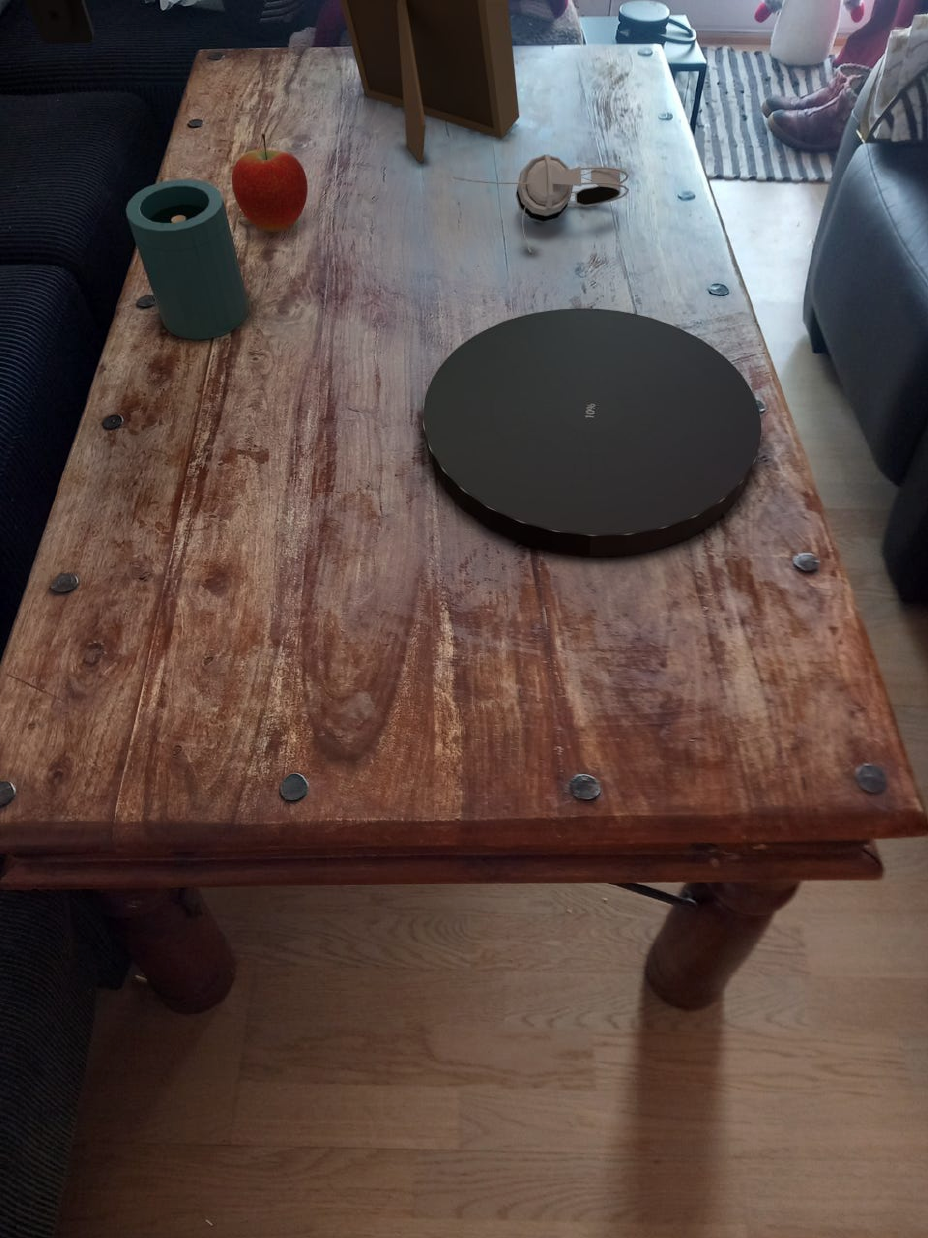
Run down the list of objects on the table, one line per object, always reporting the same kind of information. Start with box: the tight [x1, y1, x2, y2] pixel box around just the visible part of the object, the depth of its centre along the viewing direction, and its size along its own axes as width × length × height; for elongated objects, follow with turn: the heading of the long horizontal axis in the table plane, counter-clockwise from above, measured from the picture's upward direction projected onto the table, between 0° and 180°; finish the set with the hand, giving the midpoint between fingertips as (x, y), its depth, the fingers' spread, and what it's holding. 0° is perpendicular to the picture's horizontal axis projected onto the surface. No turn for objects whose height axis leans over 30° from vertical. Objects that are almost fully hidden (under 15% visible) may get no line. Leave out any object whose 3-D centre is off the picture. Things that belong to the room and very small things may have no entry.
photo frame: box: [340, 0, 520, 163], centre depth 108 cm, size 15×22×25 cm
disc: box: [422, 307, 762, 558], centre depth 83 cm, size 30×30×3 cm
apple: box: [231, 133, 308, 233], centre depth 102 cm, size 8×8×10 cm
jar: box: [125, 178, 250, 341], centre depth 91 cm, size 9×9×12 cm
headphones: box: [452, 154, 630, 254], centre depth 101 cm, size 8×10×20 cm
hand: (86, 7), depth 59 cm, fingers open, 9 cm apart
